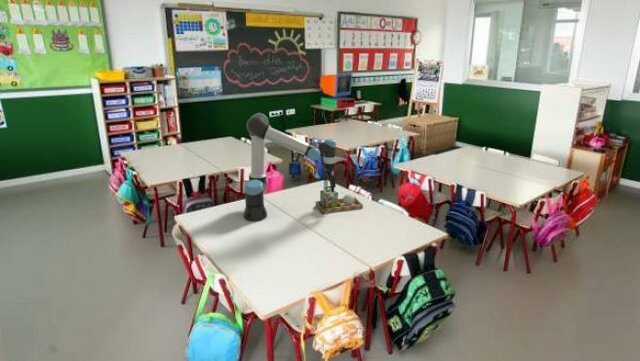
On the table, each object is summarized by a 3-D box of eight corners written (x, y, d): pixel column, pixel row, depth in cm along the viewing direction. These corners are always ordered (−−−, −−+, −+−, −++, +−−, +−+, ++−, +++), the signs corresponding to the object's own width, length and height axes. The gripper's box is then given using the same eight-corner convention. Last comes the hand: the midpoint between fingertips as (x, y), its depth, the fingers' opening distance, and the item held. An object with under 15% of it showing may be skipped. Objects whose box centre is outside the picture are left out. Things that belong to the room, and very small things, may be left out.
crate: (321, 214, 270) (321, 209, 269) (315, 206, 283) (315, 201, 282) (362, 209, 278) (362, 204, 276) (354, 201, 291) (354, 196, 290)
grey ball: (345, 208, 277) (345, 197, 275) (341, 203, 285) (341, 193, 282) (356, 206, 280) (356, 195, 277) (351, 202, 287) (352, 191, 284)
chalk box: (326, 211, 273) (326, 190, 268) (319, 206, 280) (319, 186, 275) (338, 208, 277) (338, 187, 272) (331, 203, 284) (331, 183, 280)
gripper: (341, 167, 257) (340, 198, 264) (329, 157, 280) (328, 186, 287) (330, 168, 255) (329, 199, 262) (318, 157, 278) (318, 186, 285)
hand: (328, 192), depth 275 cm, fingers open, 13 cm apart
